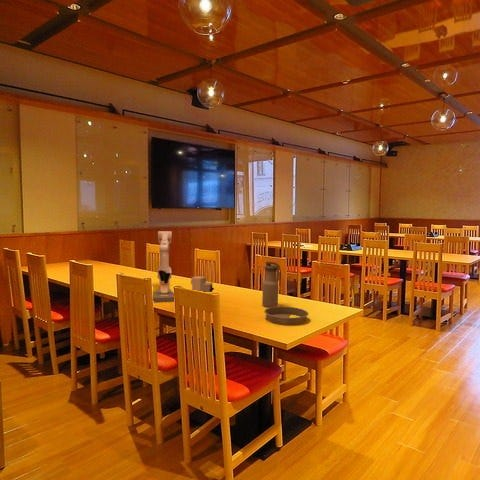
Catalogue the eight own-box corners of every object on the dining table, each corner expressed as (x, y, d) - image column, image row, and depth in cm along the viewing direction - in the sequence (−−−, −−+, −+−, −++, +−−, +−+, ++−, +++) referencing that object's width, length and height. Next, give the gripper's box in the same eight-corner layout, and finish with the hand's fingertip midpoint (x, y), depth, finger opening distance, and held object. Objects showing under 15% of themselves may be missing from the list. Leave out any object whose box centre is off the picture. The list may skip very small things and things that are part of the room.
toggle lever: (160, 293, 267) (160, 283, 269) (167, 293, 268) (167, 283, 270) (160, 293, 265) (160, 282, 268) (167, 292, 266) (167, 282, 269)
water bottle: (279, 304, 255) (280, 261, 253) (276, 308, 246) (278, 263, 244) (264, 303, 258) (265, 260, 256) (260, 307, 249) (261, 262, 246)
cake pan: (292, 329, 206) (292, 320, 205) (255, 319, 222) (255, 311, 221) (316, 319, 224) (316, 311, 224) (280, 311, 240) (280, 304, 240)
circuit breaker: (211, 301, 260) (212, 279, 258) (190, 300, 262) (190, 277, 261) (214, 299, 267) (215, 277, 266) (194, 298, 270) (194, 276, 268)
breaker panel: (150, 296, 272) (150, 288, 271) (177, 295, 276) (177, 287, 275) (150, 302, 254) (150, 294, 254) (178, 301, 258) (178, 293, 258)
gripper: (155, 260, 274) (155, 280, 275) (161, 264, 261) (161, 284, 263) (165, 260, 277) (165, 279, 279) (172, 263, 265) (172, 283, 266)
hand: (164, 281), depth 271 cm, fingers open, 7 cm apart
